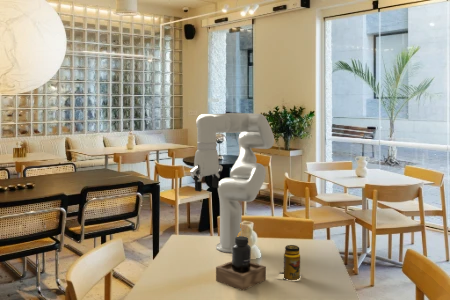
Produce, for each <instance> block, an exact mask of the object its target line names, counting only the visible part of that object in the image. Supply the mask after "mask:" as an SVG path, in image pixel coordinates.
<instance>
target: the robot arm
mask: <svg viewBox="0 0 450 300" xmlns="http://www.w3.org/2000/svg"><path fill="white" fill-rule="evenodd" d="M195 123H196V124H195V125H196V129H197V133H196V135H197V137H196V138H197V139H196V140H197V142H196V143H197V144H196V145H197V147H196V148H197V150H196V151H195V154H194V162H193V168H192V169H191V170H190V171H189V172H190V175H191V178H192V179H193V181H194V191H195V192H200V193H201V192H203V191H202V190H203V187H202V186H203V184H202V183H203V182H202V179H203V177H206V176H207V177H208V176H212V178H211V187H212V188H215V189H217V193H218V198H219V199H218V200H219V243H217V244H216V245H215V246H216V250H217V251H219V252H223V253H232V247H233V245H234V244H236V243H235V238H236V237H237V235H238V233H239V232H240V231H241V232H242V227H241V228H240V223H241V224H242V218H243V217H242V216H243V215H242V206H241V204H240V202H246V203H247V202H248V203H250V202H253V201H254V200H255V199H256V198H257V196H258V194H259V192H260V190H261V188H262V186H263V184H264V183H265V180H266V174H267V172H266V168H265V166H264V165H263V164H262V163H258V162H257V160H258V159H257V156H256V154H255V152H254V151H253V150H252V149H263V150H267V149H271V148H272V147H273V146H274V143H275V136H274V133H273V131H272V128H271V126H270V124H269V121H268V120H267V118H266V117H265V115H264V114H262V113H251V112H250V113H248V112H247V113H245V112H244V113H243V112H241V113H240V112H239V113H237V112H229V113H227V112H226V113H202V114H200V115H199V116H198V117H197V118H196V122H195ZM224 133H227V134H229V133H231V134H234V133H239V134H238V135H239V136H238V148H239V149H238V150H239V155H238V157H237V159H236V160H235V162H234V164H233V165H232V167H231V170H230V173H229V177H224V178H222V179H220V177H221V174H222V171H223V166H222V165H221V164H219V163H220V161H219V154H218V149H217V146H218V143H217V134H224ZM219 179H220V180H219Z"/></svg>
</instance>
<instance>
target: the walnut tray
mask: <svg viewBox="0 0 450 300" xmlns="http://www.w3.org/2000/svg"><path fill="white" fill-rule="evenodd" d="M266 280H267V267H266V266H265V265H262V264H259V263H256V262H252V261H251V262H250V270H249V271H248V272H235V271H233V270H232V260H231V261H228V262H225V263H223V264H220V265H218V266H216V267H215V281H216V282H219V283H220V284H224V285H227V286H229V287H233V288H235V289H238V290H240V289H241V291H245V290H246V289H249V288H251V286H252V287H254V286H256V285H258V284H260V282H261V283H263V282H265V281H266ZM262 281H263V282H262Z"/></svg>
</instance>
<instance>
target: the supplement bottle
mask: <svg viewBox="0 0 450 300" xmlns="http://www.w3.org/2000/svg"><path fill="white" fill-rule="evenodd" d="M247 237H248V236H247ZM247 237H245V235H244V236H242V235H241V236H239V237H236V238H235V243H236V244H234V245H233V247H232V252H231V254H232V255H231V261H232V270H233V271H235V272H248V271H249V270H250V262H252V261H251V254H252V252H251V251H252V250H251V245H250V244H249V237H248V238H247Z"/></svg>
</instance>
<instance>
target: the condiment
mask: <svg viewBox="0 0 450 300" xmlns="http://www.w3.org/2000/svg"><path fill="white" fill-rule="evenodd" d="M300 272H301V254H300V246H298V245H296V244H295V245H294V244H289V245H288V244H287V245H286V246H285V247H284V253H283V271H279V273H278V275H279V274H284V278H285V279H288V280H297V279H299V278H300V276H301V277H302V276H303V274H301V273H300Z"/></svg>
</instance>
